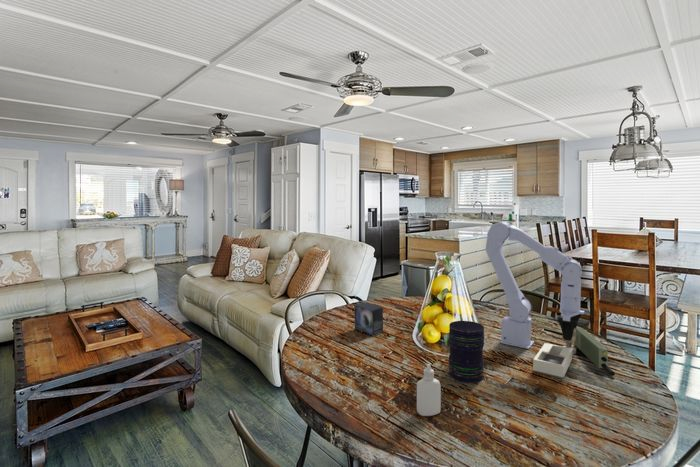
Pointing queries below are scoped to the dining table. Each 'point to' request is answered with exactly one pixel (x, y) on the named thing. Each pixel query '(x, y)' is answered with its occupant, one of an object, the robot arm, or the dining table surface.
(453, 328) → the storage jar
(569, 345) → the keyhole peg
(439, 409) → the eye dropper bottle
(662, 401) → the dining table surface
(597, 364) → the handheld radio
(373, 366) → the dining table surface
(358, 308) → the small box
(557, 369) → the white hollow rectangular frame
